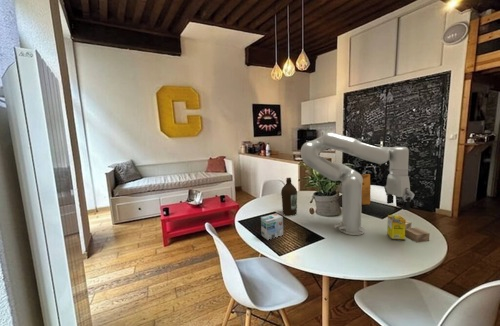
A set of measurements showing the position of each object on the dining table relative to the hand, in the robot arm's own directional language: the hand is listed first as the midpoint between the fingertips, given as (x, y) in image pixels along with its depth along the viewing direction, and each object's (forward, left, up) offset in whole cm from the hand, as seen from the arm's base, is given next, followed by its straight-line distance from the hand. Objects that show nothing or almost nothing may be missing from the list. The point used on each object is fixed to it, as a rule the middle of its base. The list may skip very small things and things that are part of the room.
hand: (397, 206), depth 111 cm
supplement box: (0, 0, -17) cm, 17 cm away
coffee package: (+17, +52, -17) cm, 57 cm away
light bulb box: (-60, +19, -17) cm, 65 cm away
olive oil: (-40, +47, -17) cm, 64 cm away
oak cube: (+10, +6, -17) cm, 20 cm away
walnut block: (+9, -3, -17) cm, 19 cm away
